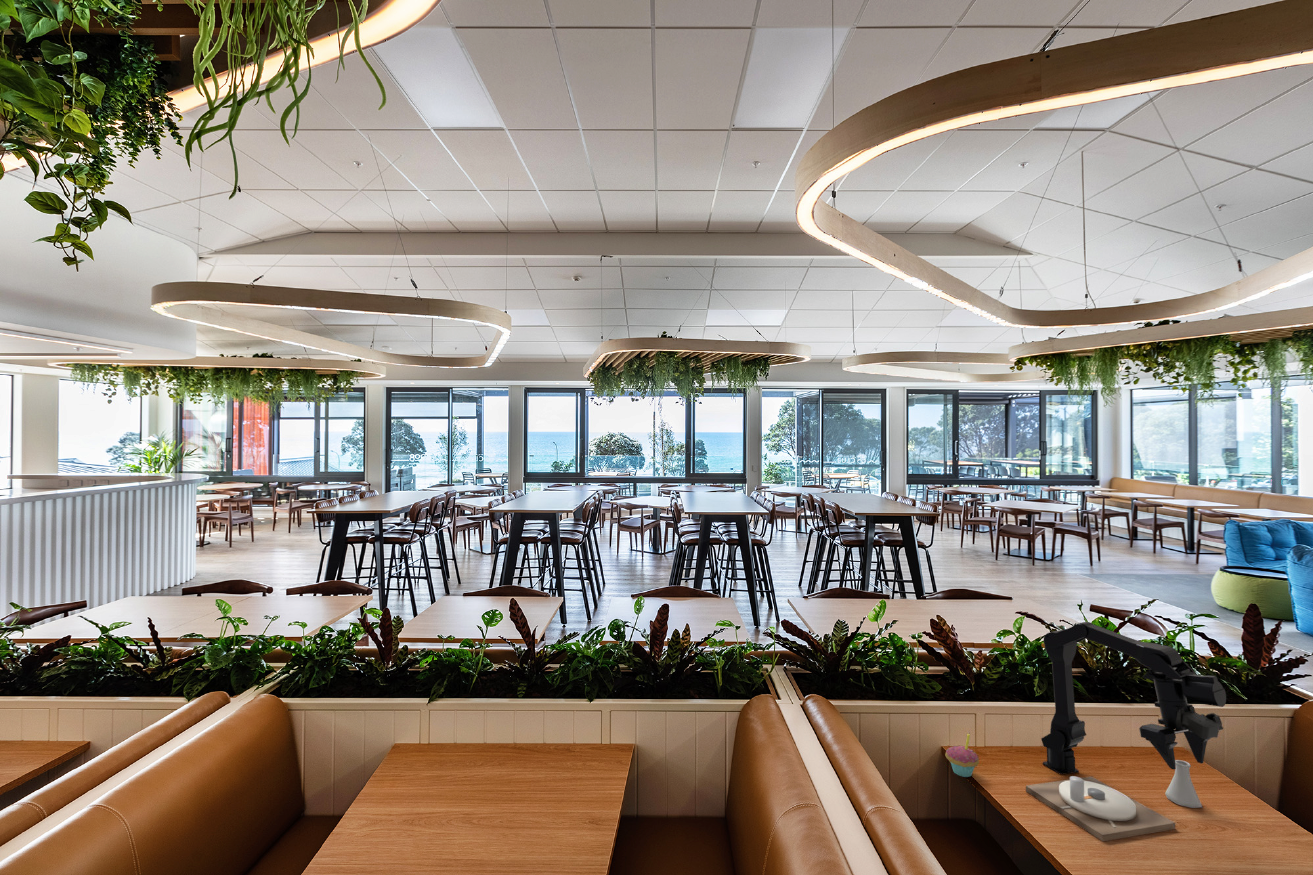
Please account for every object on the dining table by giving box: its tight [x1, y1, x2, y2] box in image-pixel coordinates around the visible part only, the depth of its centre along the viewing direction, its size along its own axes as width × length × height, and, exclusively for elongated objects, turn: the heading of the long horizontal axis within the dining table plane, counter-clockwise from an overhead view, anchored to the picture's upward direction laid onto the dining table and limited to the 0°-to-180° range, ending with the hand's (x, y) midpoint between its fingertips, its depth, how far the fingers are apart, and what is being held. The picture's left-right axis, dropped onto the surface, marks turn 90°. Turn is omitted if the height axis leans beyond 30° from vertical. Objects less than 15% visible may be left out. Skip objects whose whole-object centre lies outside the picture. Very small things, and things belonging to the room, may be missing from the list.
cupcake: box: [945, 731, 980, 778], centre depth 172 cm, size 9×8×12 cm
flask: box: [1164, 759, 1203, 809], centre depth 159 cm, size 7×7×10 cm
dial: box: [1059, 775, 1136, 821], centre depth 155 cm, size 16×16×6 cm
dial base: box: [1025, 776, 1176, 842], centre depth 155 cm, size 22×22×2 cm
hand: (1186, 765), depth 149 cm, fingers open, 9 cm apart
